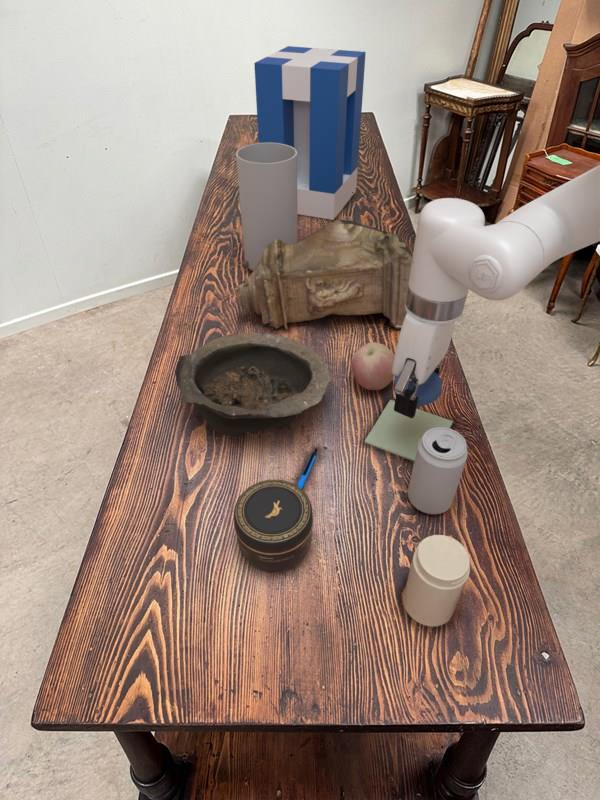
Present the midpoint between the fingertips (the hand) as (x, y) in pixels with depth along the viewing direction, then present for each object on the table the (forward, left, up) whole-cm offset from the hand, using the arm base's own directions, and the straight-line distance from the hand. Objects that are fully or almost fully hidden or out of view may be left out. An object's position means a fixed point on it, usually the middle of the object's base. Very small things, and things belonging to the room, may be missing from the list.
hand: (415, 398), depth 82 cm
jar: (+8, +28, -8) cm, 30 cm away
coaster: (0, 0, -7) cm, 7 cm away
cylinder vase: (+48, -37, -8) cm, 61 cm away
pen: (+10, +20, -8) cm, 24 cm away
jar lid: (0, 0, +3) cm, 3 cm away
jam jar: (-12, +26, -7) cm, 30 cm away
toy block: (+57, -74, -8) cm, 94 cm away
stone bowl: (+25, +6, -8) cm, 27 cm away
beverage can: (-7, +11, -8) cm, 15 cm away
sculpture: (+28, -25, -8) cm, 38 cm away
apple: (+10, -8, -8) cm, 15 cm away
